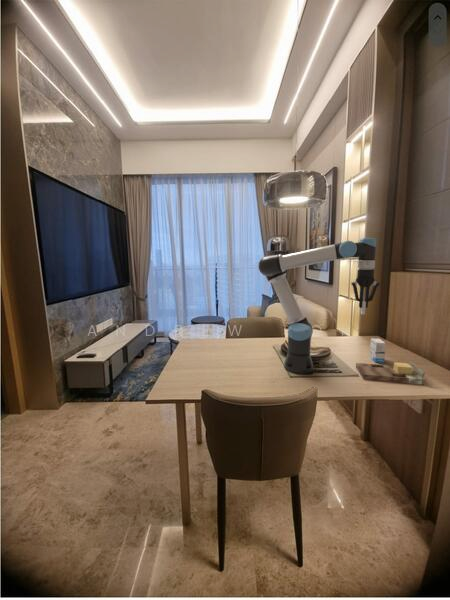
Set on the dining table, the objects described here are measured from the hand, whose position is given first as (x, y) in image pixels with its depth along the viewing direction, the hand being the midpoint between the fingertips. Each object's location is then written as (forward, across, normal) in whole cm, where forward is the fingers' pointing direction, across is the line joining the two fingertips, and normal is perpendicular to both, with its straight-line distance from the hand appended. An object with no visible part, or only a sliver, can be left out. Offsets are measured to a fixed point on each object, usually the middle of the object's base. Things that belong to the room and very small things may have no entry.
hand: (362, 313), depth 130 cm
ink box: (+29, +12, +11) cm, 33 cm away
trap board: (+29, +11, -9) cm, 32 cm away
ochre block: (+27, +17, -9) cm, 33 cm away
